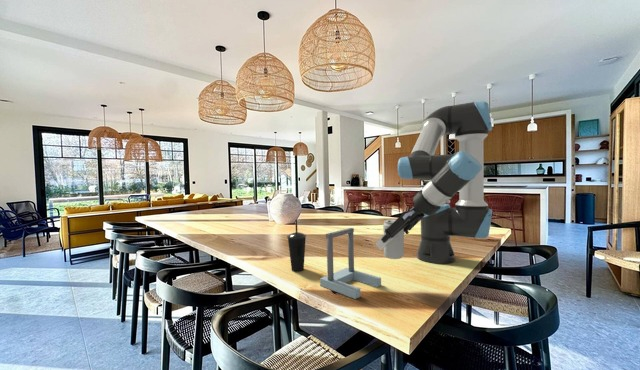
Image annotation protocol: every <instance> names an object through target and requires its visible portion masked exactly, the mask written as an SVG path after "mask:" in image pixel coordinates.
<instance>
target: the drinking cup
mask: <svg viewBox="0 0 640 370" xmlns="http://www.w3.org/2000/svg"><path fill="white" fill-rule="evenodd" d="M294 221H295V223H294V224H295V232H293V233H292V232H291V233H289V234H288V235H286V238H287V243H288V251H289V259H290V267H291V268H290V269H291V271H292V272H302V271H304V269H305V255H306V241H307V240H306V238H307V235H306V234H305V233H302V232H298V219H295V220H294Z"/></svg>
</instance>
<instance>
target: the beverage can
mask: <svg viewBox="0 0 640 370" xmlns="http://www.w3.org/2000/svg"><path fill="white" fill-rule="evenodd" d="M396 220H397V219H394V218H393V219H392V218H391V219H384V221H383V232H382V233H383V234H382V235H384V234H385V232H384V231H385V229H387V228H388V227H389V226H391V225H392V224H393V223H394V222H395V221H396ZM404 233H405V232H404V228H403V229H402V230H401V231H400V232H399V233H397V234H396V235H395V236H394V238H393V239H392V240H391V241H390V242H389V243H388V244H387V245H386V246H385V247H384V248H383V255H384V256H385V257H386V258H388V259H391V260H400V259H402V258H403V257H404V256H405V239H404V235H405V234H404Z"/></svg>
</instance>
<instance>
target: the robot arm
mask: <svg viewBox="0 0 640 370" xmlns="http://www.w3.org/2000/svg"><path fill="white" fill-rule="evenodd" d="M492 130H493V126H492V118H491V112H490V107H489V103H488V102H487V101H484V100H481V101H472V102H466V103H465V102H464V103H460V104H459V103H458V104H453V105H446V106H445V105H444V106H442V107H440V108H438V109H436V110H434V111H433V112H431V113H430V114H429V115H428V116H427V117H425V119H424V120H423V121H422V123H421V125H420V133H419V136H418V138H417V140H416V141H415V144H414V145H413V149H412V150H411V153H410V154H409V156H402V157H400V158H399V159H398V161H397V174H398V176H399V178H400V179H402V180H411V181H413V180H428V182H427V183H426V184H425V185H424V186H423V187H422V188H421V190H419V191H418V192H417V193H416V194H415V195H414V196H413V198H412V201H413V204H414V206H410V207H409V208H408V209H407V211H406V210H404V211H403V212H402V213H401V215H400V216H399V217H398V218H397V219H395V220H396V221H395V222H394V223H393V224H392V225H391V226H389V227H388V228H387V229H385V231H384V232H385V234H382V236H381V237H380V238H379V239H378V240H377V241H376V242H375V245H376V246H377V248H378V249H379V250H380V251H381V250H384V247H385V246H386V245H387V244H388V243H389V242H390V241H391V240H392V239H393V238H394V236H395V235H396V234H397V233H399V232H400V231H401V230H402V229H403V228H404V235H405V234H406V235H408V234H410V232H409V231H411V230H412V229H413V228H414V227H415V226H416V225H417V224H418V223H419V222H420V242H419V245H418V247H417V249H416V250H417V251H416V258H417V259H418V260H420V261H422V262H426V263H432V264H450V263H453V262H455V261H456V255H455V251H454V248H453V246H452V243H451V237H462V238H471V239H487V238H488V237H489V235H490V230H491V223H492V216H493V210H492V209H491V208H489V204H488V203H487V202H486V201H485V200H484V198H485V197H484V193H485V192H484V191H485V189H484V188H485V187H484V186H485V185H484V183H485V182H484V176H485V175H484V173H485V172H484V140H485V139H486V138H487V137H488V136H489V132H491V131H492ZM445 135H454V138H455V139H456V140H457V142H458V151H457V152H454V153H453V154H452V153H451V154H436V151H437V148H438V145H439V143H440V140H441V138H442V137H444V136H445ZM458 193H459V195H458V196H459V198H458V199H459V200H458V201H457V202H456V203H455V206H454V207H451V205H450V203H451V199H452V198H453V197H454V196H455V195H456V194H458Z"/></svg>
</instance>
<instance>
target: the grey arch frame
mask: <svg viewBox="0 0 640 370" xmlns="http://www.w3.org/2000/svg"><path fill="white" fill-rule="evenodd" d="M354 232H355V229H354V227H347V228H344V229H340V230H336V231H332V232H328V233H327V232H326V234H325V239H326V260H327V261H326V262H327V263H326V265H327V269H326V270H327V275H325V276H323V277H321V278H319V283H320V284H319V285H320V287H323V288H324V289H328V290H329V291H333V292H335V293H338V294H341V295H344V296H346V297H349V298H352V299H354V300H358V298H361V288H360V287H357V286H355V285H351V284H348V283H349V282H351V281H356V282H360V283H363V284H366V285H368V286H372V287H374V288H378V287H380V286H382V277H380V276H377V275H372V274H369V273H366V272H362V271H359V270H356V269H355V250H354V249H355V246H354V244H355V243H354ZM345 235H347V253H348V256H347V258H348V259H347V260H348V267H345V268H343V269H340V270H337V271H335V272H334V246H333V245H334V244H333V243H334V242H333V241H334V238H337V237H341V236H345Z"/></svg>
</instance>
